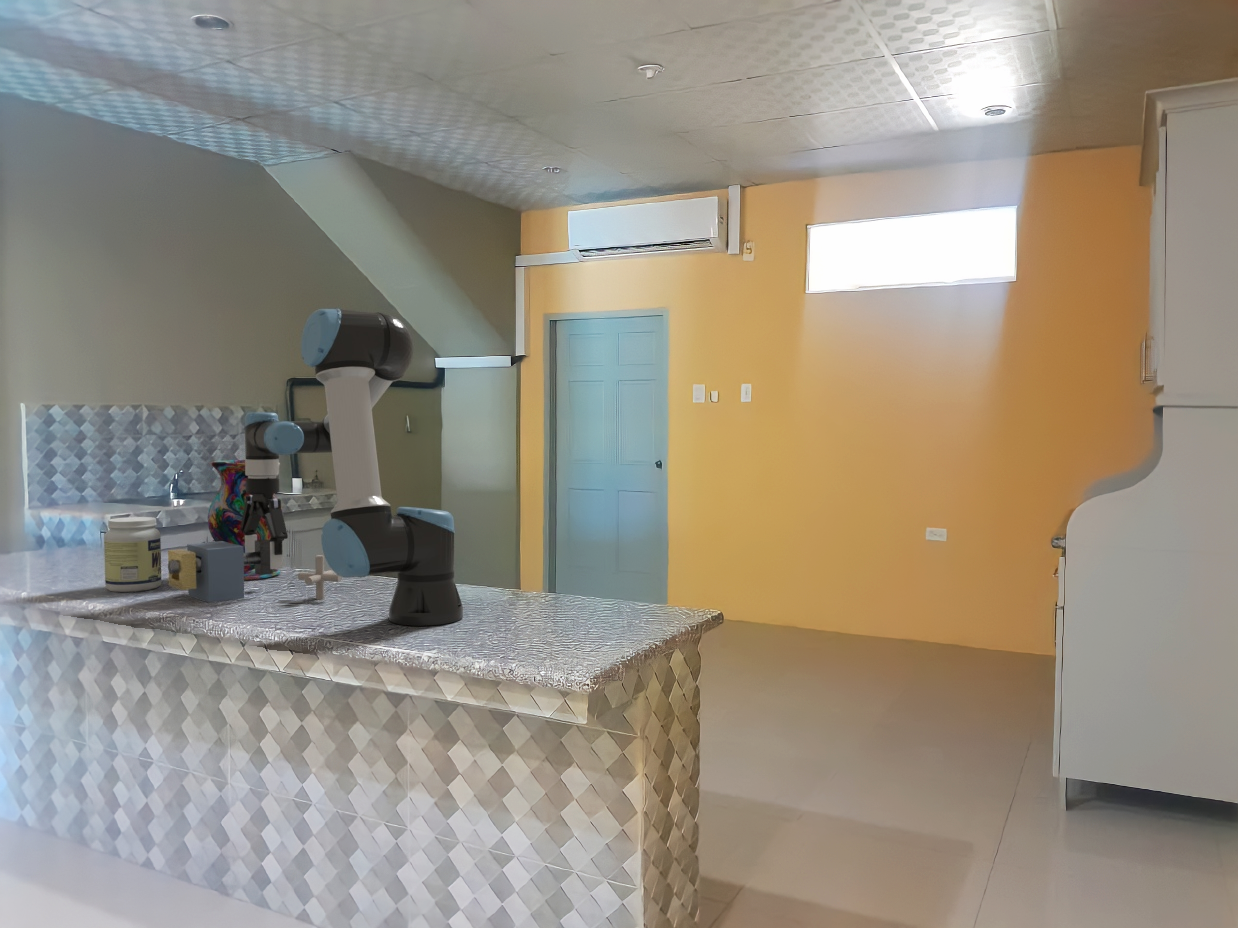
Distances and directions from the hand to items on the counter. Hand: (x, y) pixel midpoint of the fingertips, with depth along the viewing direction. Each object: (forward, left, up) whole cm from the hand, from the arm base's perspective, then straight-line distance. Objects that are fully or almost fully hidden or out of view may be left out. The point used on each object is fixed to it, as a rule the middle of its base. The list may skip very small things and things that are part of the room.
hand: (263, 564), depth 225 cm
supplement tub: (+24, +22, -6) cm, 33 cm away
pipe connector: (-19, -4, -6) cm, 21 cm away
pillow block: (0, +12, -6) cm, 13 cm away
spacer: (0, +19, +1) cm, 19 cm away
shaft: (0, +10, -2) cm, 10 cm away
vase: (+22, -5, -6) cm, 23 cm away
